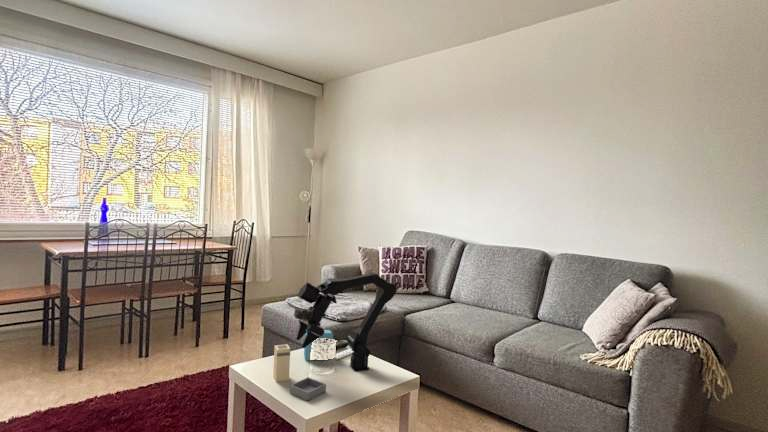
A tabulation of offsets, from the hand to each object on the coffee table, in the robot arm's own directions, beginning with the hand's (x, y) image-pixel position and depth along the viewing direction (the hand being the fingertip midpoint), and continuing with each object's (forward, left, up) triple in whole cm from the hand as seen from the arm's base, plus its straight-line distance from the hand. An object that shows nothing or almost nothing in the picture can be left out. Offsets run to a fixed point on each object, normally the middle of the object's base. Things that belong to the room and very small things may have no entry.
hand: (300, 343), depth 169 cm
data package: (-12, -16, -13) cm, 24 cm away
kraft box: (+7, 0, -13) cm, 15 cm away
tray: (0, +15, -13) cm, 20 cm away
